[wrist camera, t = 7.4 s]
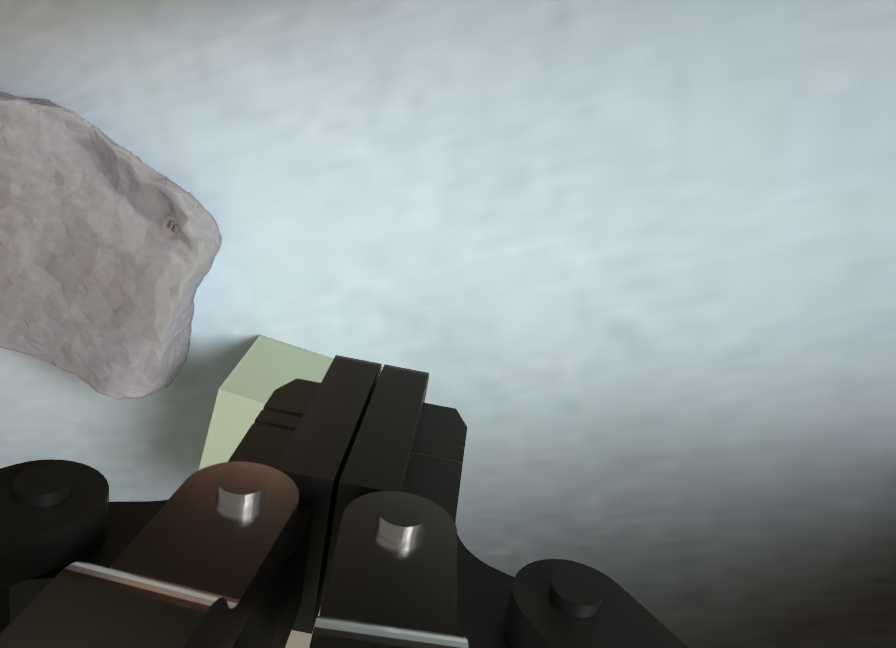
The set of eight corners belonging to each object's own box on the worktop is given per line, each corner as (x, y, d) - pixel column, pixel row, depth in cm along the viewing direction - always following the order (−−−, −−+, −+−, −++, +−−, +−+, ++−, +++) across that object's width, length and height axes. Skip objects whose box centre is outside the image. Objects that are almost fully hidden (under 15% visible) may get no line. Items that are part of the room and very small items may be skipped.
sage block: (370, 370, 35) (348, 430, 30) (340, 464, 37) (314, 536, 32) (260, 334, 35) (218, 389, 30) (235, 430, 37) (191, 498, 32)
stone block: (-7, 64, 34) (-84, 283, 35) (-74, 49, 29) (-159, 302, 30) (262, 186, 35) (177, 390, 37) (240, 190, 30) (144, 424, 32)
